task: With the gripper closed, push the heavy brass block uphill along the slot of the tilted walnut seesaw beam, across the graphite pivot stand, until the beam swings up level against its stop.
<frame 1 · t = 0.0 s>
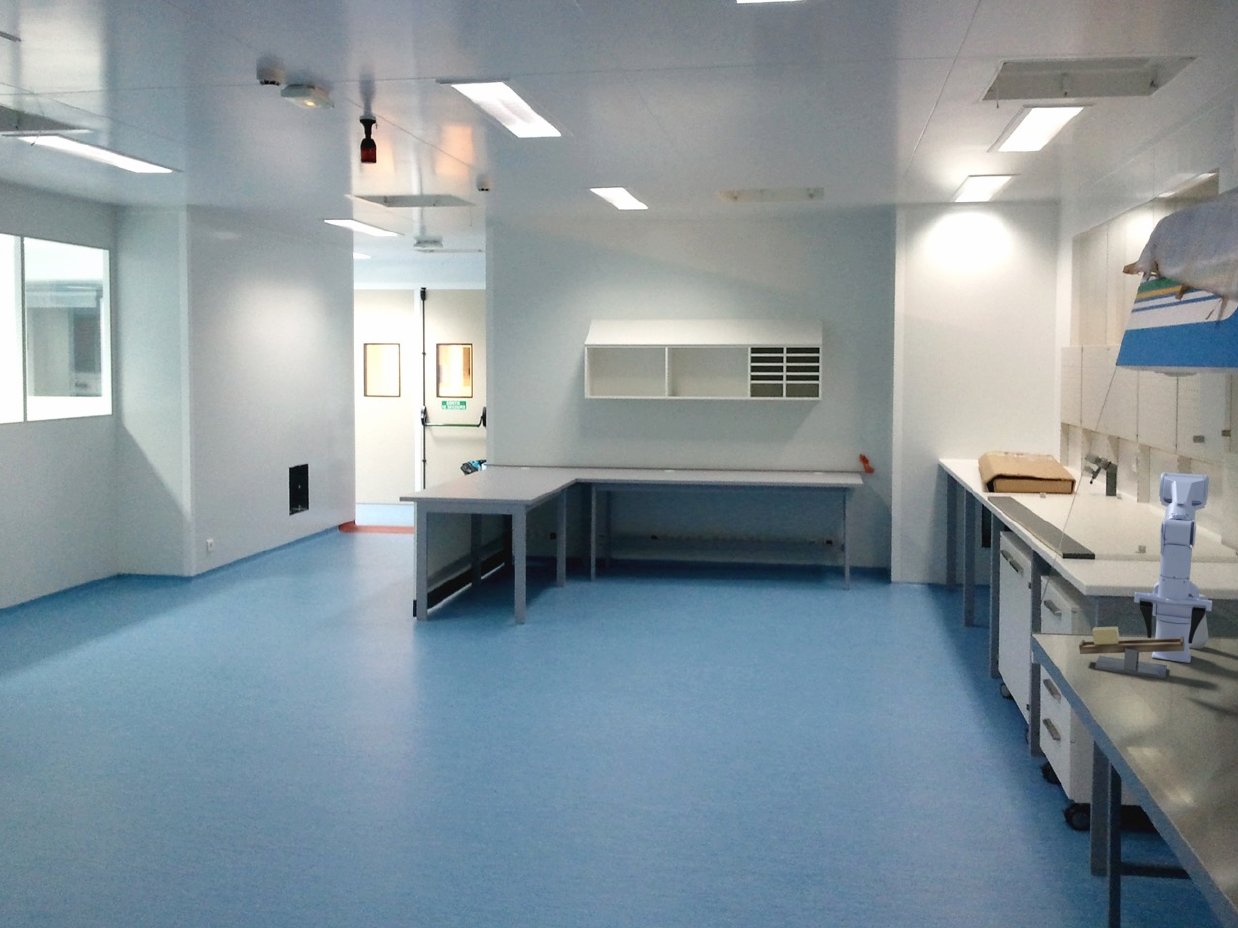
hand: (1169, 639, 227), 10 cm above the lab bench, fingers open, 7 cm apart
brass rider: (1107, 645, 243), point 4 cm above the lab bench, tilted 11°, touching beam
pivot stand: (1130, 668, 241), on the lab bench
beam: (1131, 647, 241), point 5 cm above the lab bench, hinge at -10.8°, touching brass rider
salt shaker: (1194, 647, 263), on the lab bench
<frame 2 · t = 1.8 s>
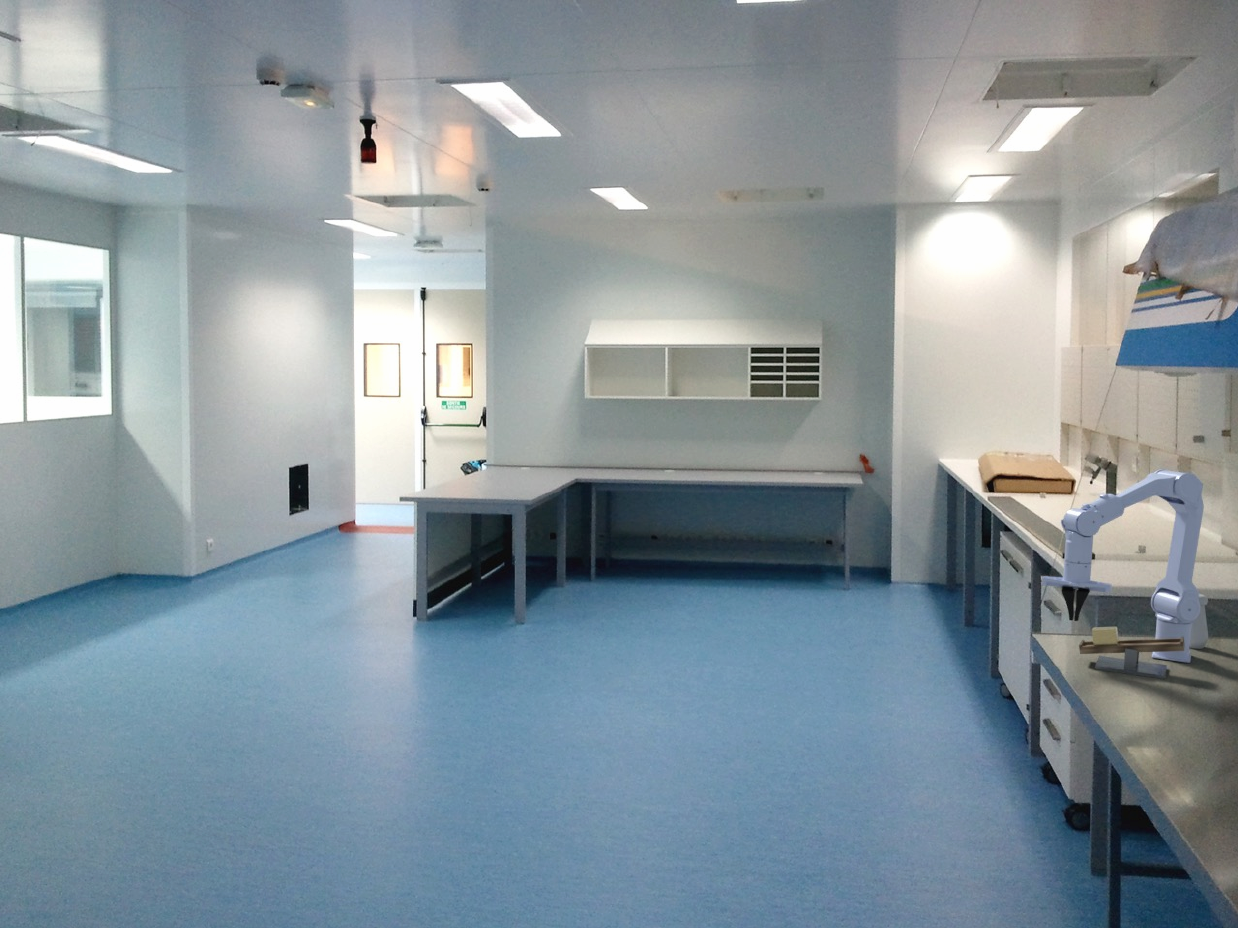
hand: (1073, 619, 247), 9 cm above the lab bench, fingers closed
nothing on the lab bench moved.
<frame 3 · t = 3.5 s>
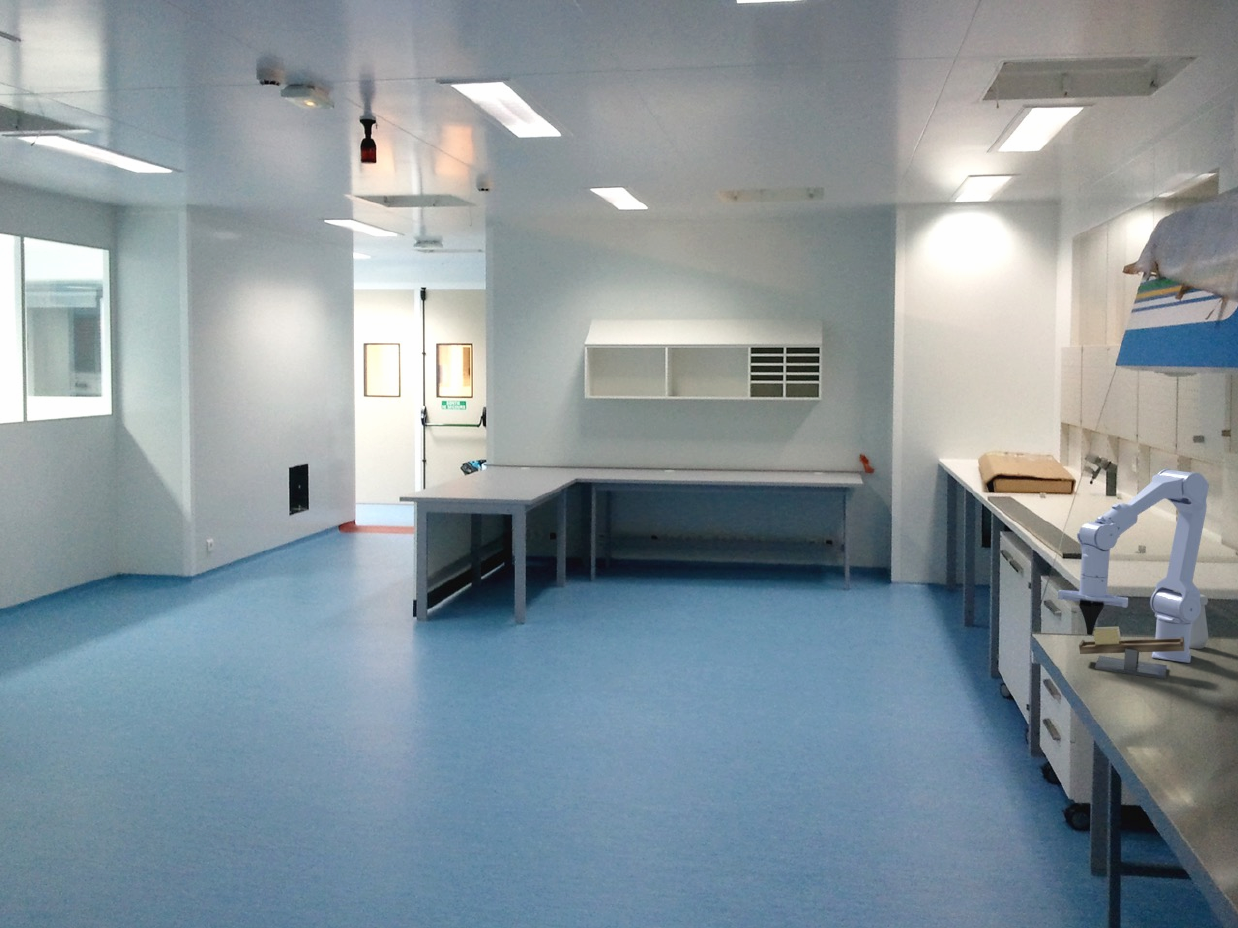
hand: (1089, 634, 245), 7 cm above the lab bench, fingers closed
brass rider: (1108, 645, 243), point 4 cm above the lab bench, tilted 11°, touching beam, gripper
everything else where it was.
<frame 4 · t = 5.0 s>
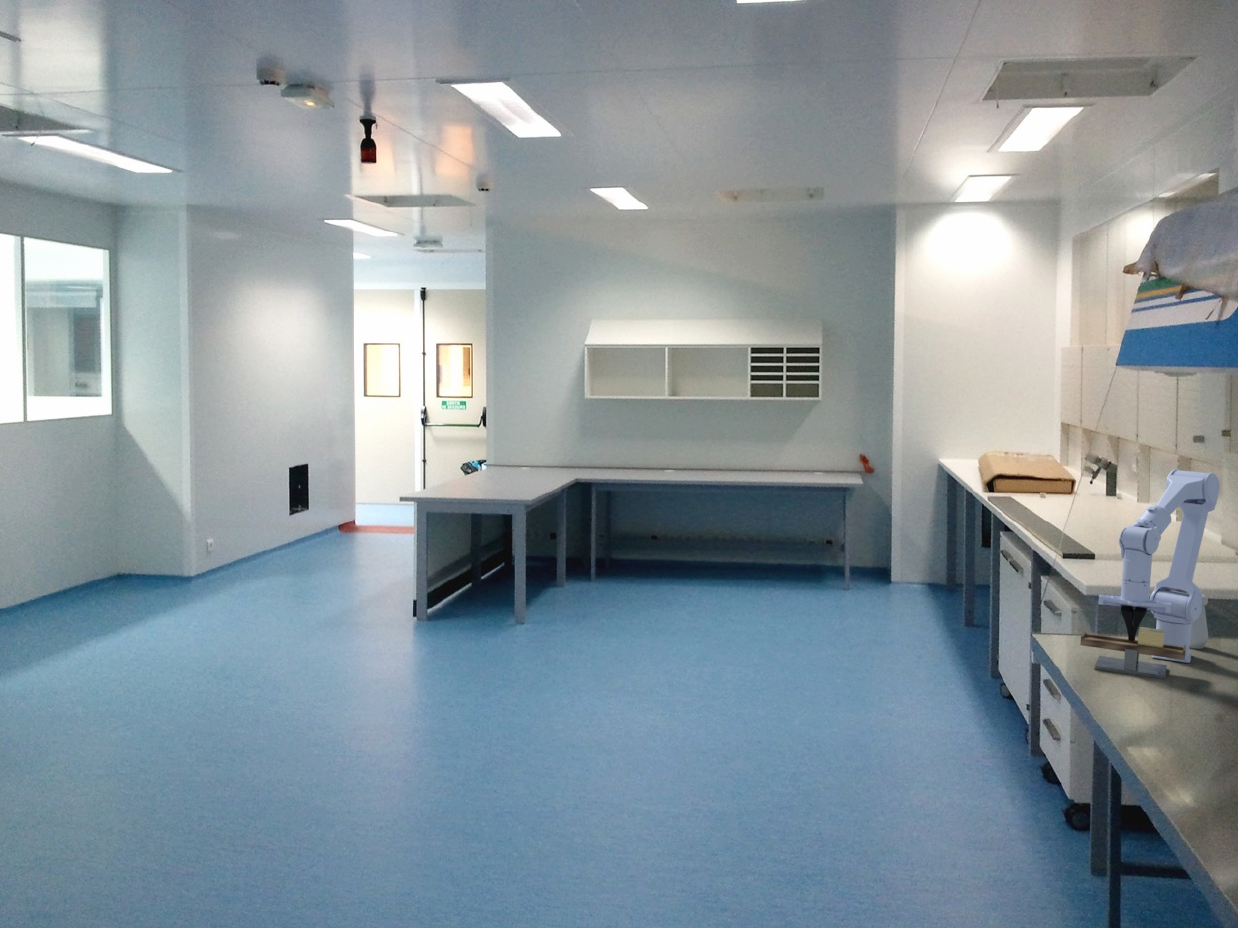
hand: (1131, 639, 241), 7 cm above the lab bench, fingers closed
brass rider: (1150, 647, 239), point 5 cm above the lab bench, touching beam, gripper
beam: (1132, 647, 241), point 5 cm above the lab bench, hinge at 0.3°, touching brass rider
everything else where it was.
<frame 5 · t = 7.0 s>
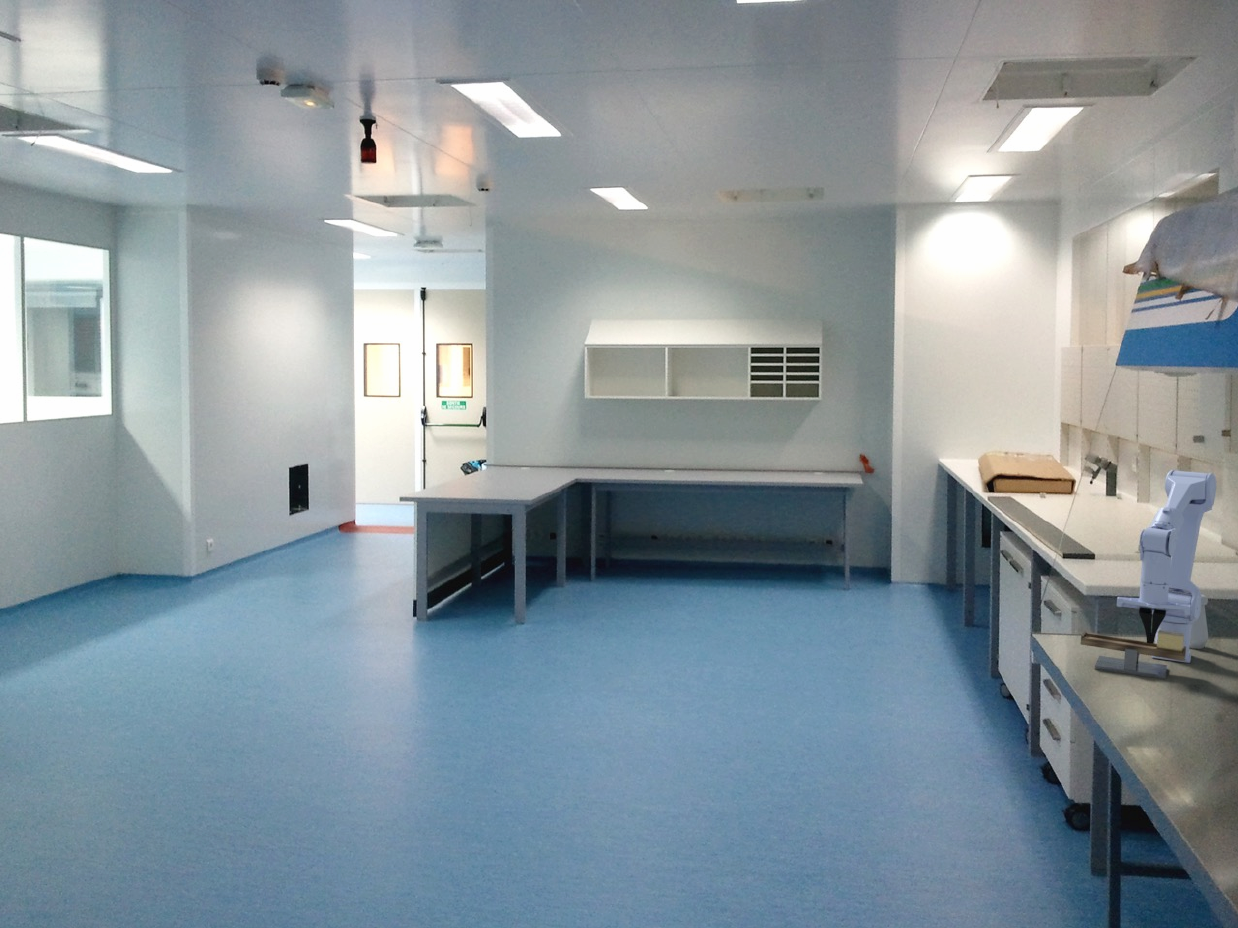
hand: (1150, 642, 239), 7 cm above the lab bench, fingers closed
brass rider: (1169, 650, 237), point 5 cm above the lab bench, touching beam, gripper
beam: (1132, 647, 241), point 5 cm above the lab bench, hinge at 1.3°, touching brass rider
everything else where it was.
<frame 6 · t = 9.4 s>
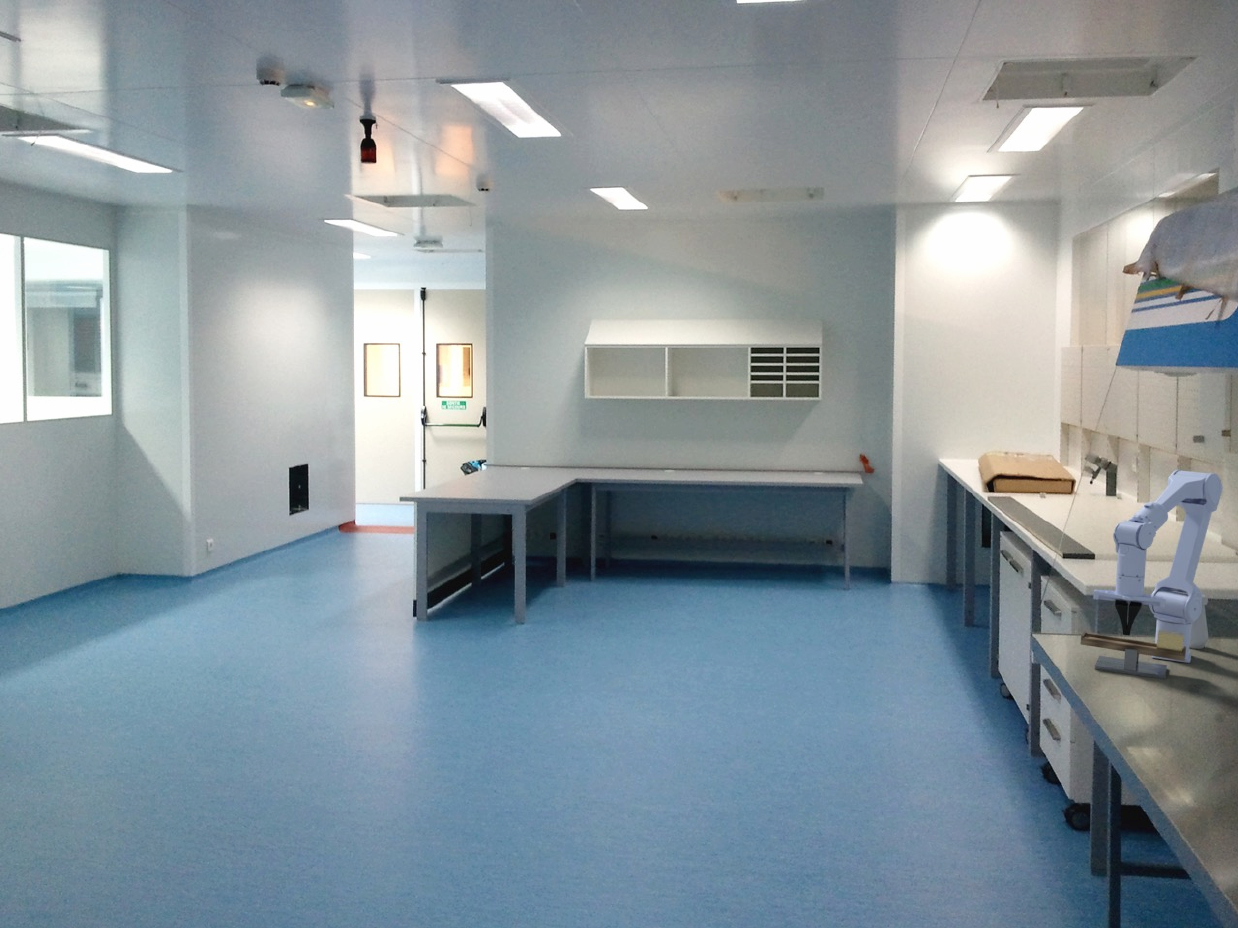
hand: (1126, 634, 242), 8 cm above the lab bench, fingers closed
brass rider: (1169, 650, 237), point 5 cm above the lab bench, touching beam
everything else where it was.
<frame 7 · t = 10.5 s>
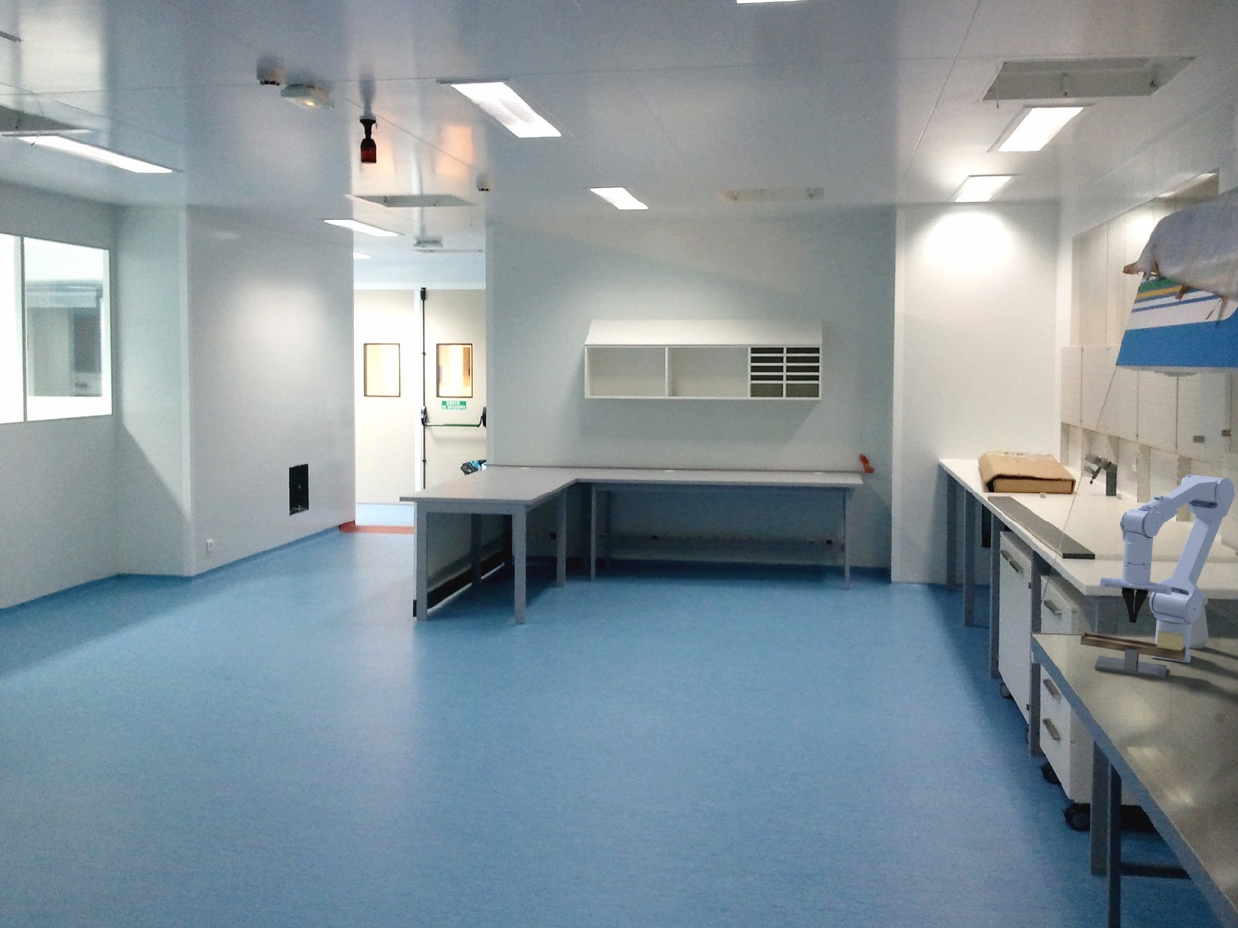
hand: (1132, 621, 244), 10 cm above the lab bench, fingers closed
nothing on the lab bench moved.
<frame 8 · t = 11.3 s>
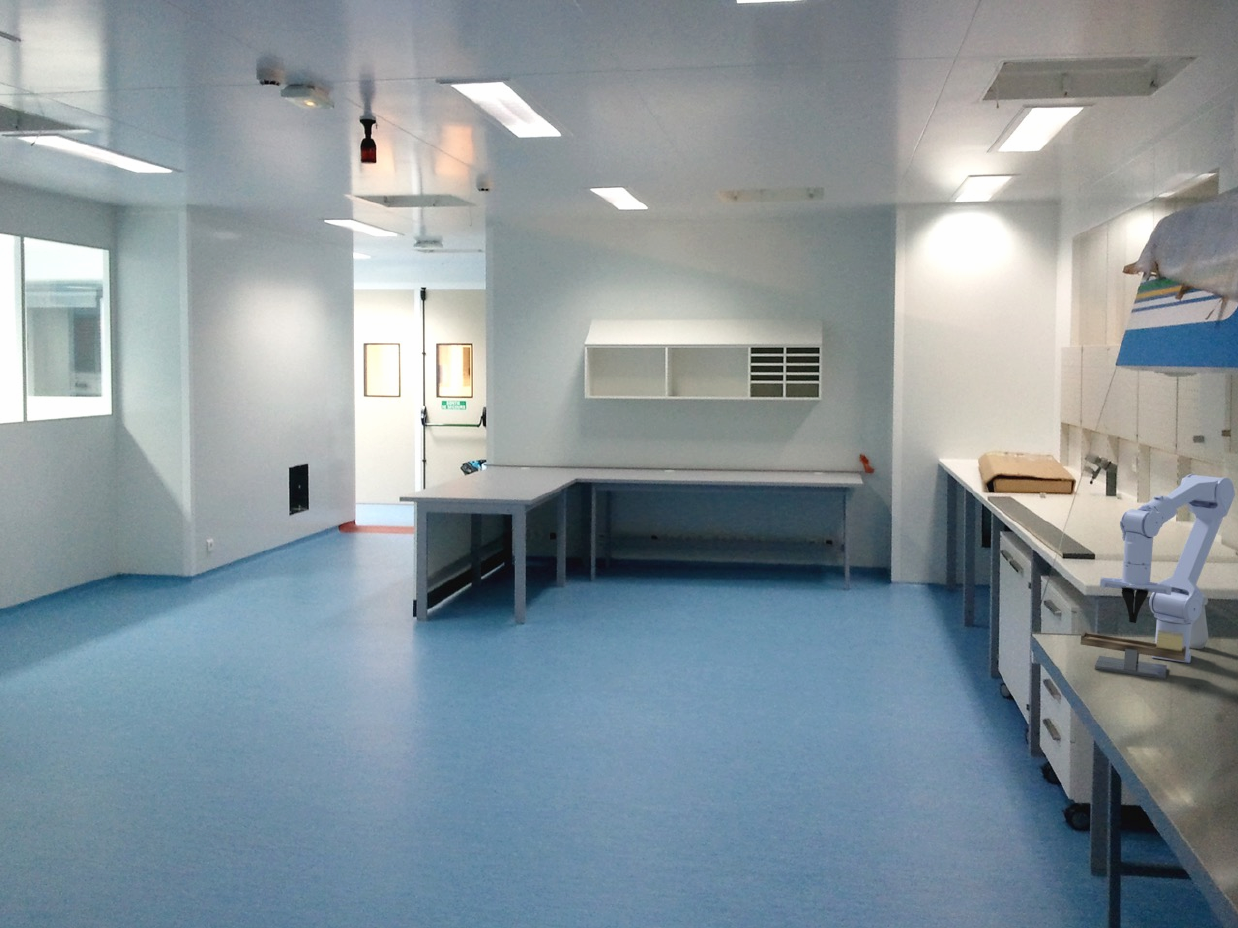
hand: (1132, 621, 244), 10 cm above the lab bench, fingers closed
nothing on the lab bench moved.
at the end: beam at +1° (first picture: -11°); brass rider 0.6 cm from the target spot on the beam, point 1.2 cm above the beam's base; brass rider tilted 1° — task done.
